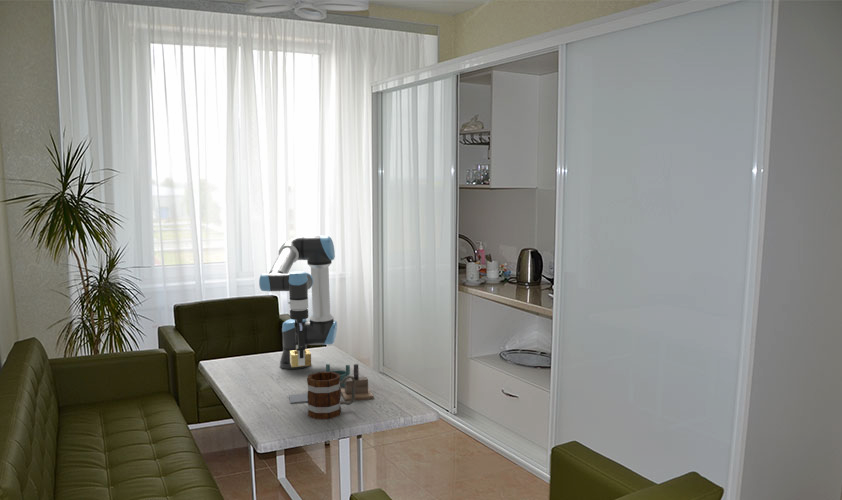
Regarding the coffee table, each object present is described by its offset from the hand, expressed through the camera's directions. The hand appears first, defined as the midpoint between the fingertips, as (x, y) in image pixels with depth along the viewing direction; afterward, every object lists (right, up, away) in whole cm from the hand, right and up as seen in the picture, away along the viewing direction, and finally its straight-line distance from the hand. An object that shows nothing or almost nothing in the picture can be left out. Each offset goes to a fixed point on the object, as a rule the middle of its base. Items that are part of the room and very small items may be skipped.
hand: (300, 362), depth 276 cm
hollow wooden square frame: (0, -1, 0) cm, 1 cm away
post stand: (+23, -15, +6) cm, 28 cm away
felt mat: (0, -16, +2) cm, 16 cm away
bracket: (+13, -13, +22) cm, 29 cm away
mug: (+15, -17, -15) cm, 27 cm away
